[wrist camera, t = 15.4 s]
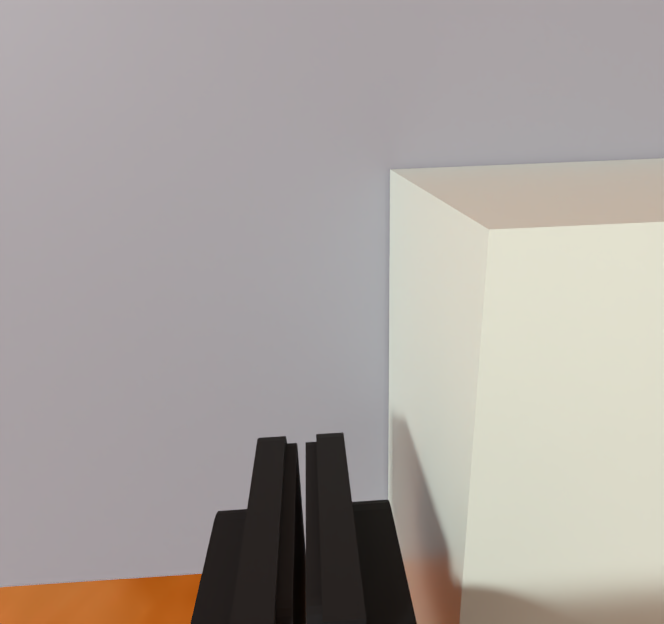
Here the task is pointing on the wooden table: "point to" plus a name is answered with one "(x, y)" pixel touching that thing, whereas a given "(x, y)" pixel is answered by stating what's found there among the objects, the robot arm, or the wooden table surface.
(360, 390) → the base board
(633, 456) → the housing cover
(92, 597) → the wooden table surface
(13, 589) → the wooden table surface
